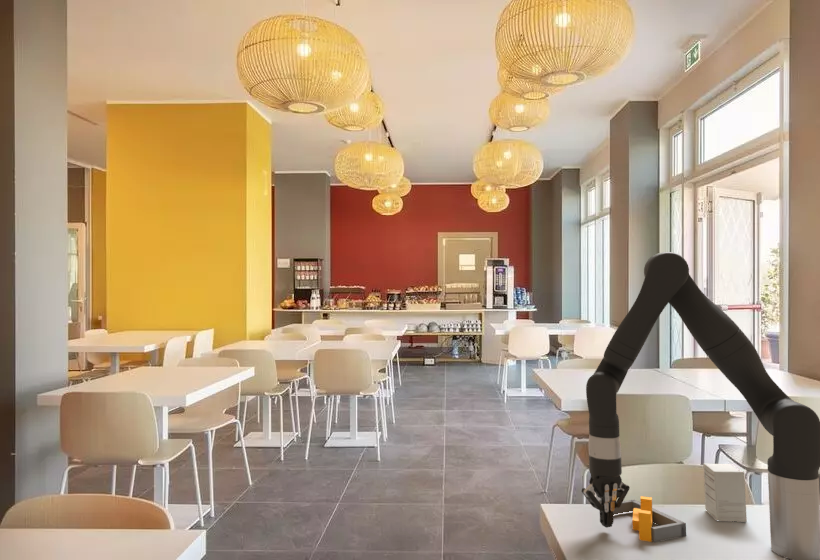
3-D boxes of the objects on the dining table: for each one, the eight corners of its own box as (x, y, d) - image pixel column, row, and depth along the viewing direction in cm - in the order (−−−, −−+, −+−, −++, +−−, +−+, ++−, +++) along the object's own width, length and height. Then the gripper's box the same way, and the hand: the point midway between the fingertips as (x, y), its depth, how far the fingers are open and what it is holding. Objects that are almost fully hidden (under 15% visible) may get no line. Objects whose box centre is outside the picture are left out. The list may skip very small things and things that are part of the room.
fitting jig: (634, 510, 145) (634, 499, 145) (686, 535, 129) (685, 523, 129) (605, 515, 141) (604, 504, 142) (654, 542, 125) (654, 529, 126)
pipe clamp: (634, 520, 138) (633, 495, 139) (652, 523, 136) (651, 497, 137) (631, 539, 128) (630, 511, 128) (651, 542, 126) (650, 514, 126)
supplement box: (734, 511, 143) (732, 463, 144) (747, 522, 136) (745, 471, 137) (704, 510, 144) (702, 462, 145) (716, 521, 137) (714, 470, 138)
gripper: (592, 460, 127) (594, 536, 126) (637, 454, 131) (639, 527, 130) (572, 452, 134) (574, 524, 133) (616, 447, 138) (618, 516, 137)
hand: (606, 525), depth 131 cm, fingers closed
